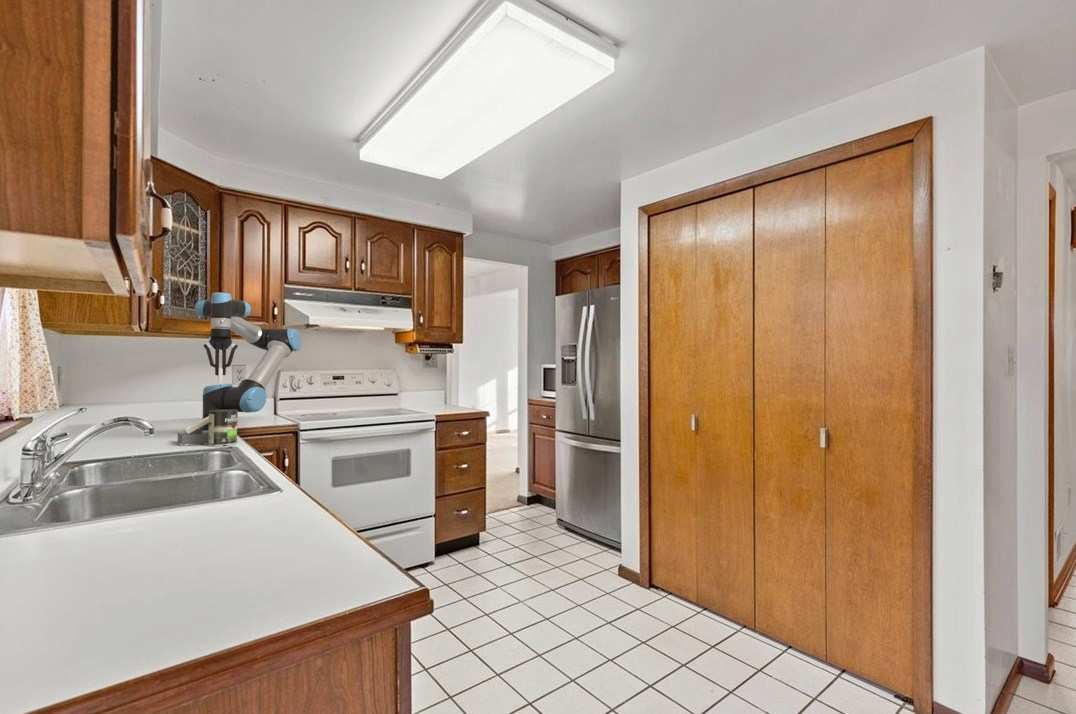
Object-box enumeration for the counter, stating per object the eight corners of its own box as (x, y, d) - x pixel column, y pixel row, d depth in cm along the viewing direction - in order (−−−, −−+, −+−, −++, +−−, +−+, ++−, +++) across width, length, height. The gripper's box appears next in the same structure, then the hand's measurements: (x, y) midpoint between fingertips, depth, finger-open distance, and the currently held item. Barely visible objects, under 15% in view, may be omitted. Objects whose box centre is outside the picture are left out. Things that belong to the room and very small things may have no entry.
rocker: (186, 433, 216) (183, 428, 215) (211, 419, 222) (208, 415, 221) (187, 434, 213) (184, 429, 212) (212, 420, 218) (210, 416, 218)
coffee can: (243, 443, 218) (243, 409, 218) (223, 447, 208) (224, 411, 208) (222, 442, 220) (222, 408, 221) (201, 446, 210) (202, 410, 210)
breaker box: (177, 441, 220) (177, 427, 220) (210, 439, 228) (211, 425, 228) (182, 445, 210) (182, 430, 210) (216, 442, 218) (216, 428, 218)
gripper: (203, 327, 219) (203, 383, 219) (239, 328, 227) (238, 383, 227) (202, 328, 225) (201, 383, 225) (237, 329, 233) (236, 382, 233)
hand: (220, 383), depth 226 cm, fingers closed
